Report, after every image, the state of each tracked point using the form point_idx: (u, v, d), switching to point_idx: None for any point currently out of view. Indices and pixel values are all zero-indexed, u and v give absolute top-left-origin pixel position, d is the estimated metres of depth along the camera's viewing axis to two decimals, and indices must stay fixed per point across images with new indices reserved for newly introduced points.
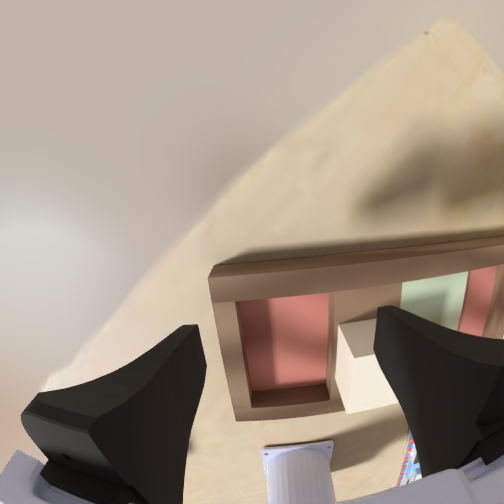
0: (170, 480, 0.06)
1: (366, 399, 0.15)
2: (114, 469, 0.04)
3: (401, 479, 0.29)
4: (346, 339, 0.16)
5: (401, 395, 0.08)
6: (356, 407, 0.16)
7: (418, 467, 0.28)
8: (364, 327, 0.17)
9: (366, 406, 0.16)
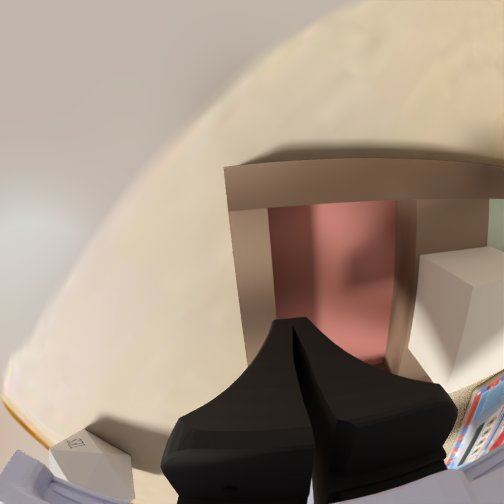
0: None
1: (472, 366, 0.08)
2: (310, 481, 0.03)
3: None
4: (445, 268, 0.09)
5: None
6: (457, 382, 0.08)
7: None
8: (457, 256, 0.10)
9: (468, 380, 0.08)
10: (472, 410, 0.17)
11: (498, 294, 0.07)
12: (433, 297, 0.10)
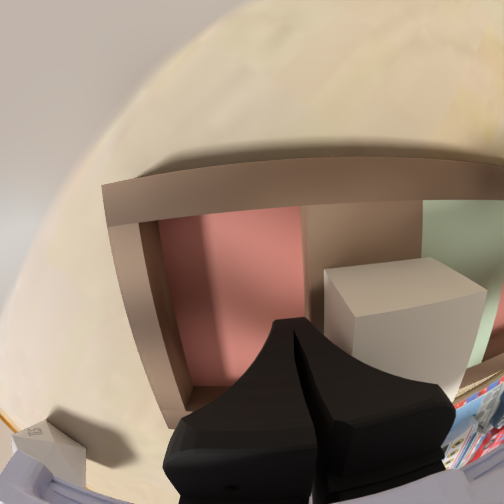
0: None
1: None
2: (312, 481, 0.03)
3: None
4: (339, 288, 0.09)
5: None
6: None
7: None
8: (371, 272, 0.10)
9: None
10: None
11: (406, 326, 0.07)
12: (332, 320, 0.10)
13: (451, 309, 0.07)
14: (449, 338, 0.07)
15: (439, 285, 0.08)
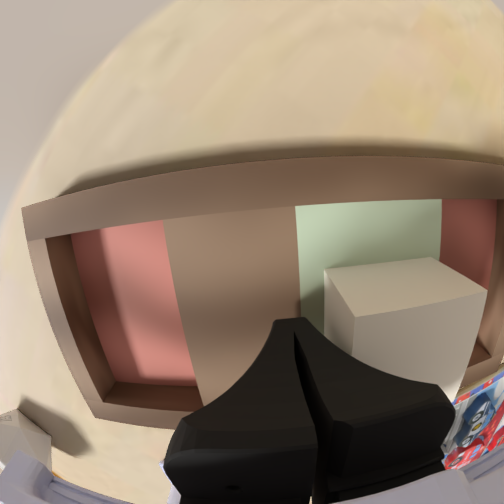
0: None
1: None
2: (312, 480, 0.03)
3: None
4: (339, 288, 0.09)
5: None
6: None
7: None
8: (371, 272, 0.10)
9: None
10: None
11: (406, 326, 0.07)
12: (332, 320, 0.10)
13: (451, 309, 0.07)
14: (449, 338, 0.07)
15: (438, 286, 0.08)
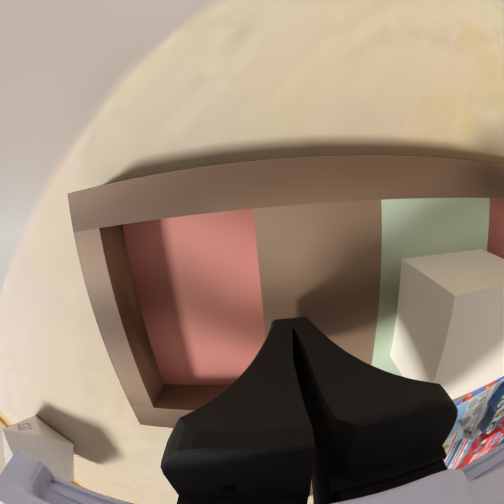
0: None
1: (456, 380, 0.08)
2: (310, 480, 0.03)
3: None
4: (426, 274, 0.09)
5: None
6: None
7: None
8: (442, 261, 0.10)
9: (452, 394, 0.08)
10: None
11: (485, 303, 0.07)
12: (414, 305, 0.10)
13: None
14: None
15: (499, 271, 0.08)
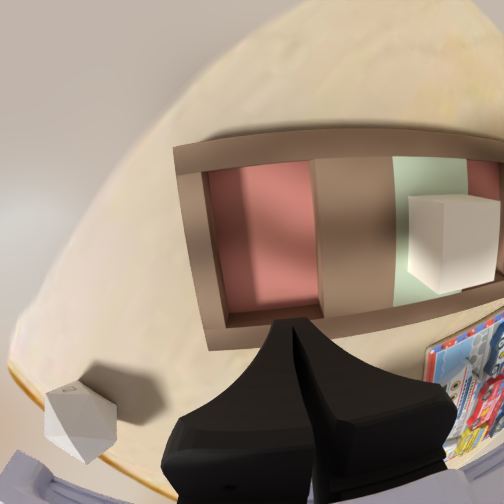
0: None
1: (456, 270, 0.13)
2: (310, 481, 0.03)
3: None
4: (425, 199, 0.14)
5: None
6: (447, 283, 0.13)
7: None
8: (435, 196, 0.15)
9: (456, 284, 0.13)
10: (430, 370, 0.22)
11: (465, 213, 0.12)
12: (420, 222, 0.14)
13: (484, 208, 0.12)
14: (485, 227, 0.12)
15: (474, 199, 0.13)
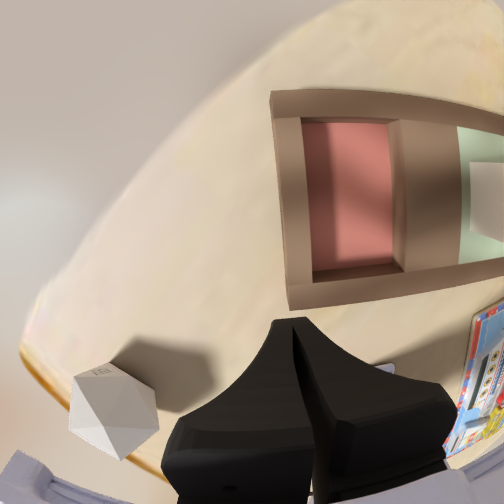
0: None
1: None
2: (309, 481, 0.03)
3: (448, 438, 0.26)
4: (487, 162, 0.13)
5: None
6: None
7: (467, 420, 0.25)
8: None
9: None
10: (475, 339, 0.21)
11: None
12: (483, 183, 0.14)
13: None
14: None
15: None
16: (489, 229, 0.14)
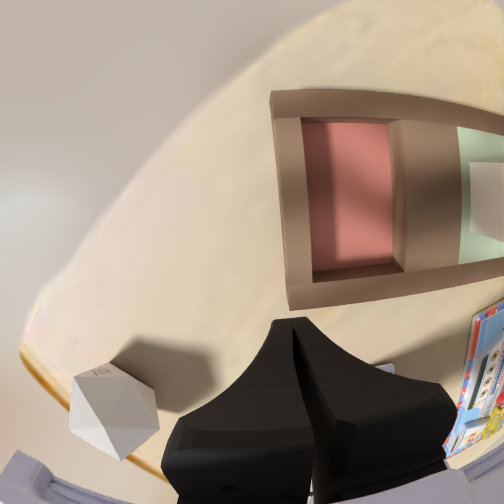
0: None
1: None
2: (309, 481, 0.03)
3: (448, 438, 0.26)
4: (487, 162, 0.13)
5: None
6: None
7: (467, 420, 0.25)
8: None
9: None
10: (475, 339, 0.21)
11: None
12: (483, 183, 0.14)
13: None
14: None
15: None
16: (489, 229, 0.14)
